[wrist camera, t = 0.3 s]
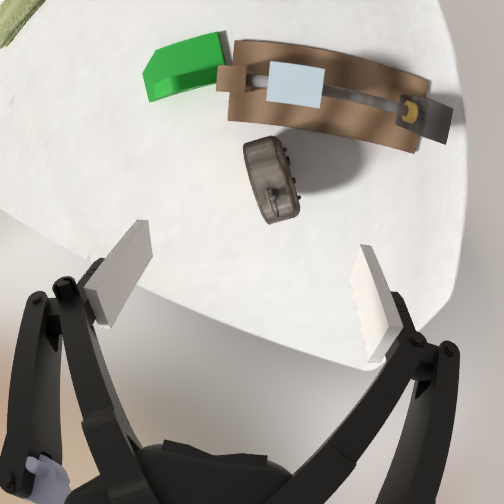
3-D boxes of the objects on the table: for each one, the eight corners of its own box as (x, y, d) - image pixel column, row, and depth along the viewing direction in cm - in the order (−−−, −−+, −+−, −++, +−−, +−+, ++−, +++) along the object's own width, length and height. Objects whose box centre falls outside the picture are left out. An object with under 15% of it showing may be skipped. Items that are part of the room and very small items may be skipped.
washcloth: (-4, 17, 22) (-14, 18, 20) (45, -38, 17) (35, -40, 15) (5, 52, 28) (-6, 54, 26) (56, -6, 23) (45, -8, 21)
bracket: (218, 33, 31) (207, 24, 25) (229, 80, 35) (219, 80, 29) (142, 57, 33) (120, 55, 27) (153, 101, 37) (132, 106, 31)
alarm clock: (246, 136, 39) (227, 166, 25) (282, 125, 38) (284, 149, 24) (268, 202, 44) (262, 261, 31) (302, 193, 43) (312, 250, 29)
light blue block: (268, 98, 29) (266, 100, 24) (272, 66, 27) (270, 61, 21) (311, 104, 29) (319, 108, 24) (315, 72, 27) (324, 69, 21)
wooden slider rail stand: (228, 119, 38) (213, 130, 29) (235, 41, 31) (221, 27, 22) (411, 152, 37) (443, 173, 28) (424, 80, 30) (461, 84, 22)
